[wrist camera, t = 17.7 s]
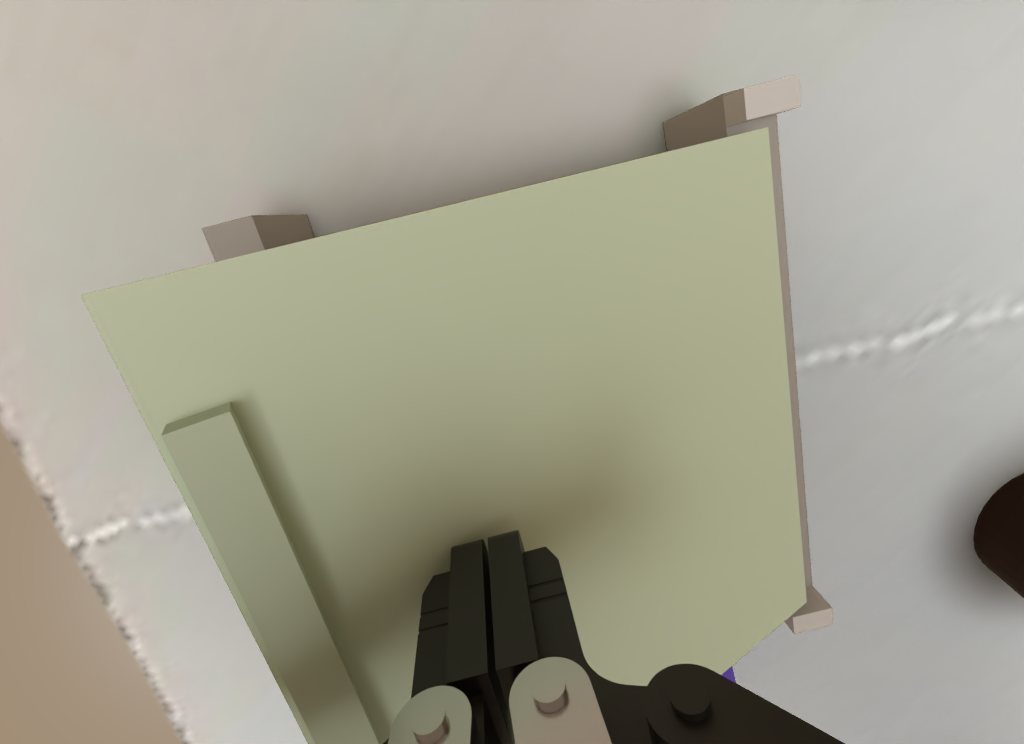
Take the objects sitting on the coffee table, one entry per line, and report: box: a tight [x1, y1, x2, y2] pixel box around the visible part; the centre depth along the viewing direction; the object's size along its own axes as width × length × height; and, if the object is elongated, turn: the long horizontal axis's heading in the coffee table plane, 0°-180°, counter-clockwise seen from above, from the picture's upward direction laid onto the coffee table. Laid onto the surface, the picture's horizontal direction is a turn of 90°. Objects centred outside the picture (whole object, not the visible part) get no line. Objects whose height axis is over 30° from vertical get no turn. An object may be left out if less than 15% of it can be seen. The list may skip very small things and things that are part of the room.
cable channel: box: [202, 74, 833, 634], centre depth 19 cm, size 19×17×6 cm
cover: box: [81, 127, 807, 744], centre depth 14 cm, size 17×16×2 cm
